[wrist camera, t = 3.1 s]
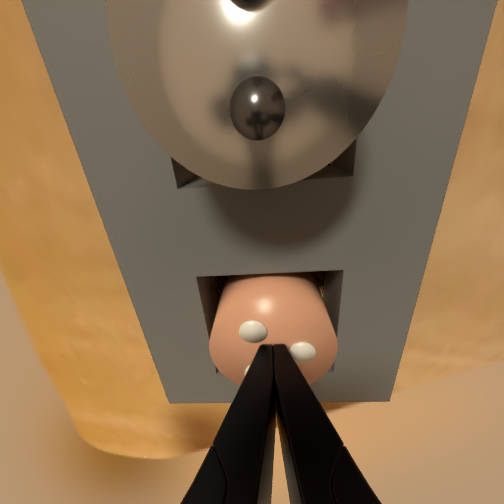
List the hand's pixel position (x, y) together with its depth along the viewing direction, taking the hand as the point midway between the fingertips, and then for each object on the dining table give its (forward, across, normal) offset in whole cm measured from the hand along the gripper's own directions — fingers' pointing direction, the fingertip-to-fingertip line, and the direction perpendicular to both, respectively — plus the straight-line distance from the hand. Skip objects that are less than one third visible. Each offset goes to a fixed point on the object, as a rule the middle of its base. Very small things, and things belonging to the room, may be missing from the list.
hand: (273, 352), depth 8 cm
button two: (+1, 0, -8) cm, 8 cm away
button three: (+3, 0, 0) cm, 3 cm away
